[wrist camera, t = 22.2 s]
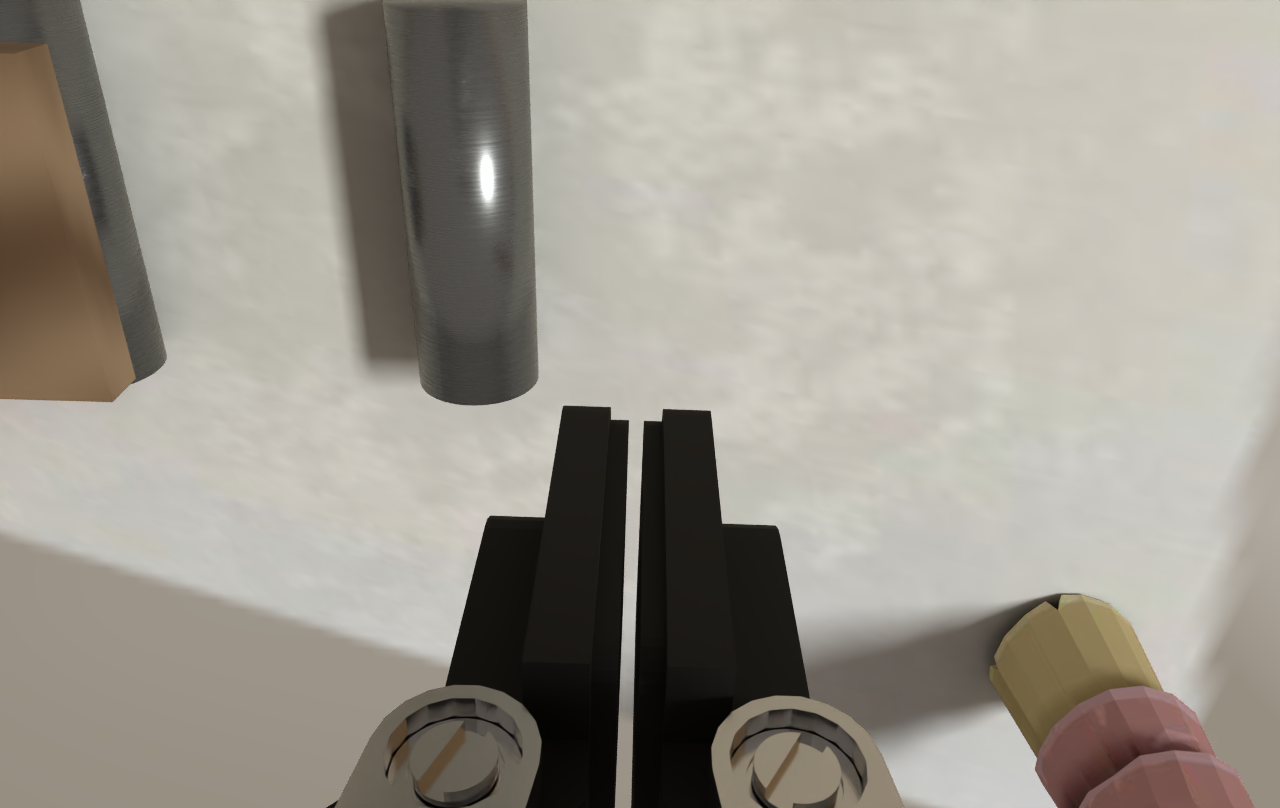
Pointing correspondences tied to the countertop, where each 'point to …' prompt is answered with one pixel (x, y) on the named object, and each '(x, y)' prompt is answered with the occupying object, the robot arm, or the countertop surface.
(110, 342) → the slab
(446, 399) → the cylinder
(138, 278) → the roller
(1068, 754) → the scroll
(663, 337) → the countertop surface
